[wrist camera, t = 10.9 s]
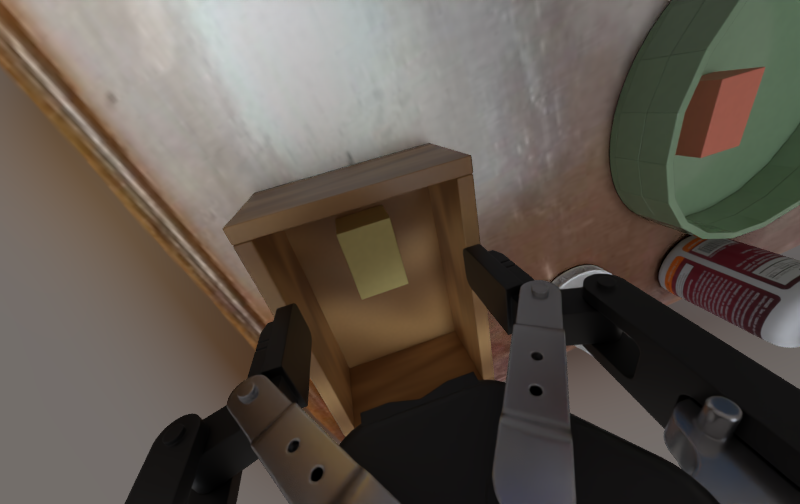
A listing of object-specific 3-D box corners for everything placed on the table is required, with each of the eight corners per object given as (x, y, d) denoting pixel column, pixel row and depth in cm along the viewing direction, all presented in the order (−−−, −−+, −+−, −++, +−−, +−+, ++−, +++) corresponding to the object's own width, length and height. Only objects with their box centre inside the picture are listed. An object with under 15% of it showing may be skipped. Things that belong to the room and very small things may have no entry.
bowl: (632, -41, 15) (722, -86, 12) (895, -104, 17) (1043, -160, 13) (596, 247, 24) (642, 270, 20) (773, 186, 26) (844, 198, 22)
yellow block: (334, 219, 17) (335, 234, 15) (382, 204, 17) (390, 217, 15) (357, 278, 19) (361, 300, 17) (399, 264, 20) (408, 283, 17)
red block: (675, 82, 18) (722, 79, 16) (715, 71, 19) (766, 66, 16) (660, 153, 21) (700, 158, 18) (696, 142, 21) (739, 145, 19)
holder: (253, 192, 16) (221, 228, 11) (430, 142, 17) (471, 154, 12) (342, 372, 23) (346, 440, 19) (461, 329, 24) (495, 384, 20)
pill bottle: (675, 295, 29) (845, 385, 20) (643, 277, 27) (820, 369, 17) (722, 244, 27) (937, 315, 18) (693, 220, 25) (922, 287, 15)
